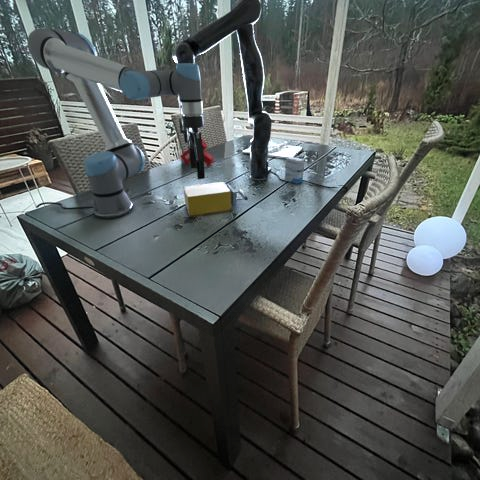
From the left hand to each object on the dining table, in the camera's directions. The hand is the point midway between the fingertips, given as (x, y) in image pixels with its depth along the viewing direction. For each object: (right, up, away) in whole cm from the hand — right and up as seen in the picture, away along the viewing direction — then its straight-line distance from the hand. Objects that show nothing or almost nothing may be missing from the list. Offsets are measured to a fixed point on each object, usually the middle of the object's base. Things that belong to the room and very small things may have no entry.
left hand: (197, 173), depth 108 cm
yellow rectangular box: (+3, -13, +9) cm, 16 cm away
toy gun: (-10, +21, +62) cm, 66 cm away
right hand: (-5, +19, +16) cm, 25 cm away
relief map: (+41, +37, +86) cm, 102 cm away
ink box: (+45, +4, +36) cm, 58 cm away
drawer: (+9, -11, +10) cm, 17 cm away
